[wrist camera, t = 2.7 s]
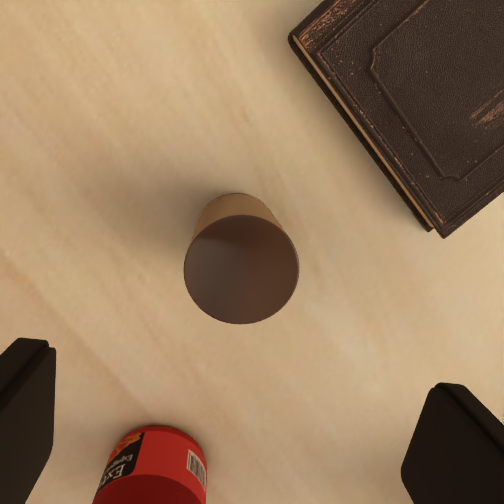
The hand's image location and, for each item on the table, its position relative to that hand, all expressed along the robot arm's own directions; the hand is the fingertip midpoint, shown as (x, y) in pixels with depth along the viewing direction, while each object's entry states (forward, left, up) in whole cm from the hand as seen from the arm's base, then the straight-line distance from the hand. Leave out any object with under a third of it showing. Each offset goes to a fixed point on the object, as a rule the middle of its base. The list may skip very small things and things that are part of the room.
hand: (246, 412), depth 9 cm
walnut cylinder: (0, 0, -17) cm, 17 cm away
